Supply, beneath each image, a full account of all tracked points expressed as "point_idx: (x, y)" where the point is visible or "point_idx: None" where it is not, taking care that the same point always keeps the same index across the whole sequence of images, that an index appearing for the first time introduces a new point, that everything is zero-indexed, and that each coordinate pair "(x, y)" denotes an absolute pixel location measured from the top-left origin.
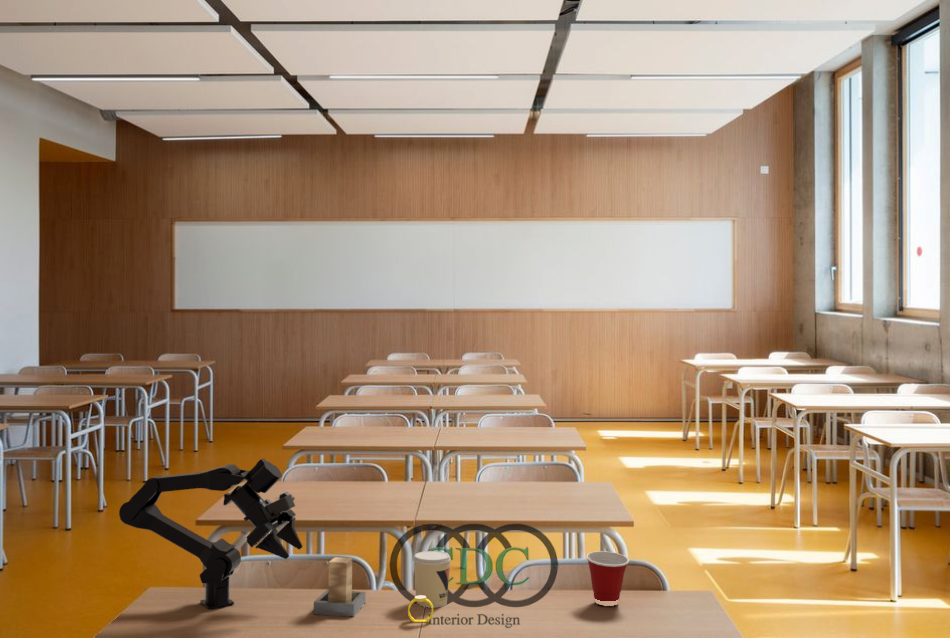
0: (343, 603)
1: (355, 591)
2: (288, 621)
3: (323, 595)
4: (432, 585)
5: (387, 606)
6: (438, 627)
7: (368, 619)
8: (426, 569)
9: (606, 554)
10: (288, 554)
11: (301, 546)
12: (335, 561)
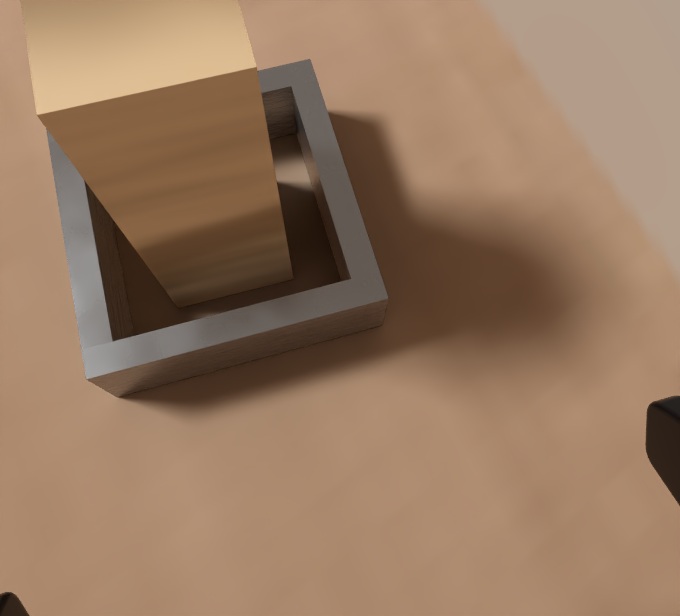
0: (327, 116)
1: (58, 179)
2: (570, 386)
3: (231, 320)
4: None
5: None
6: None
7: (312, 32)
8: None
9: None
10: (673, 406)
11: (11, 601)
12: (206, 21)
